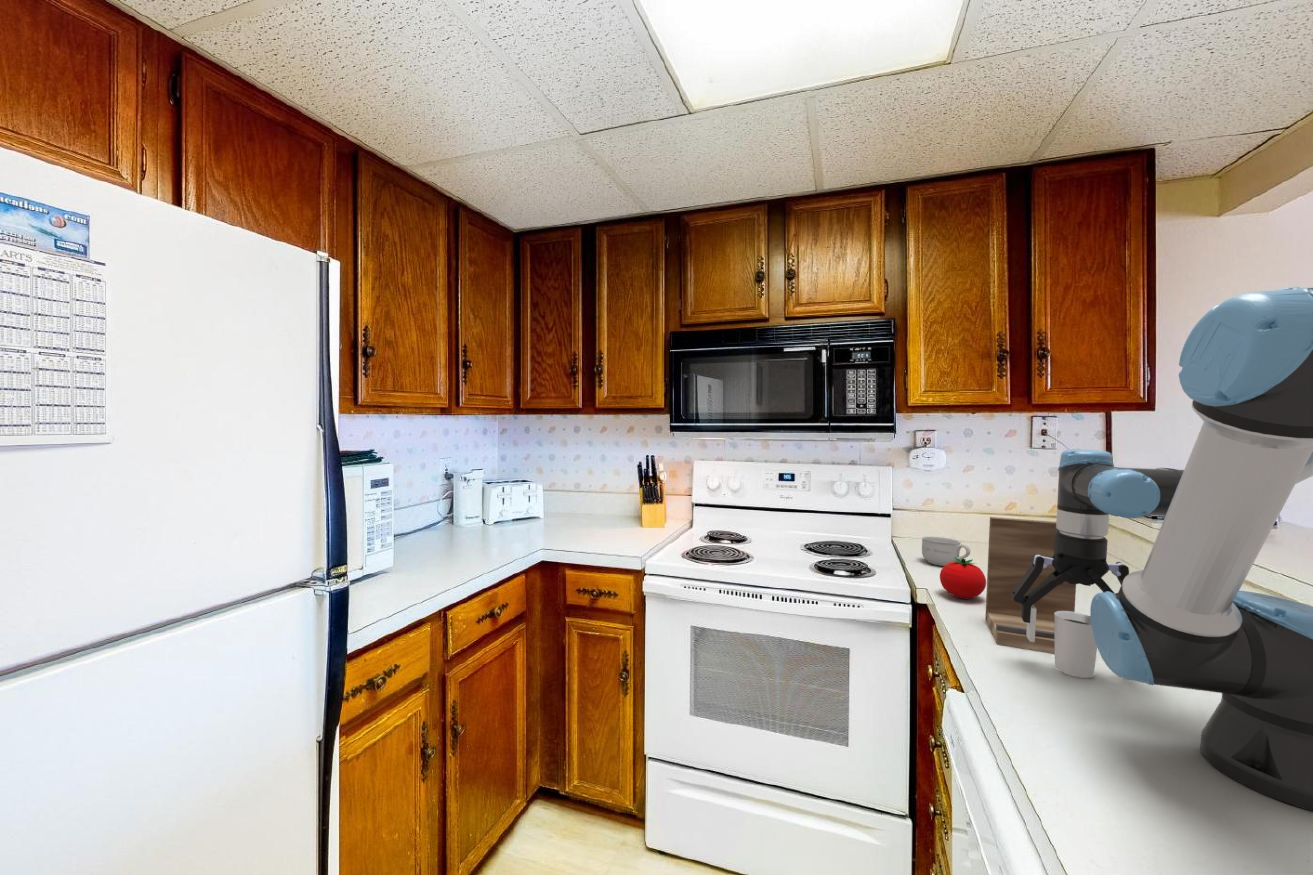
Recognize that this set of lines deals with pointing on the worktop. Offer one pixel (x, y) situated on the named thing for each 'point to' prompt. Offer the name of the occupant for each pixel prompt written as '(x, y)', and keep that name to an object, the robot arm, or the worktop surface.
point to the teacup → (942, 550)
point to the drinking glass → (1074, 644)
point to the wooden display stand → (1005, 570)
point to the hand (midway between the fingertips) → (1074, 646)
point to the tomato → (962, 579)
